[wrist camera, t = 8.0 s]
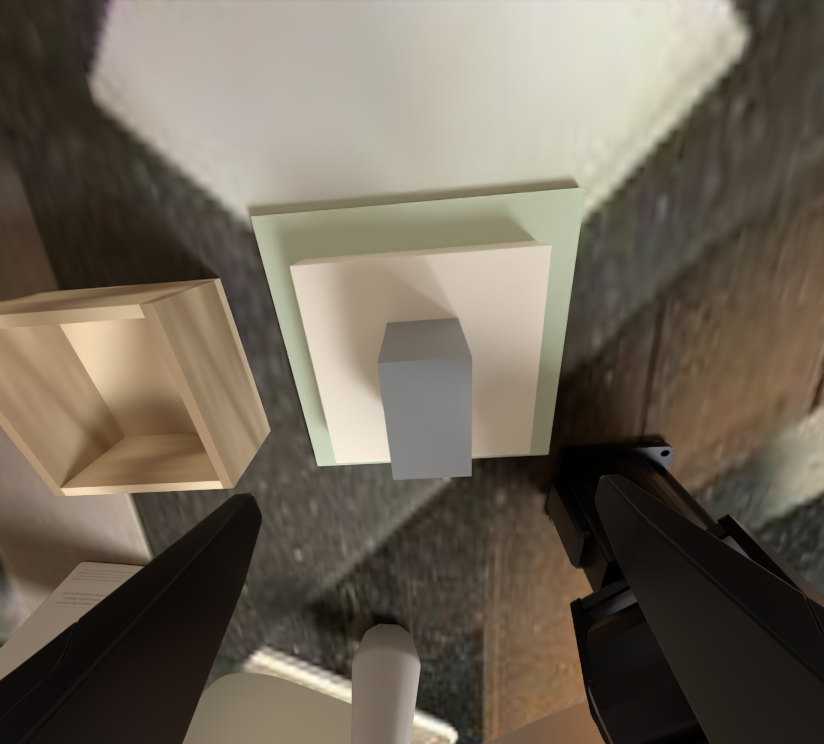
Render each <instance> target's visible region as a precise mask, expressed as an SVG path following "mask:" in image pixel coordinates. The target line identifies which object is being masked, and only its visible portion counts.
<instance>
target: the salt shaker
mask: <svg viewBox="0 0 824 744" xmlns="http://www.w3.org/2000/svg"><path fill="white" fill-rule="evenodd" d="M419 674H420V661H419V657H418V654H417V651H416V648H415V646H414V643H413V640H412V637H411V634H410V633H409V632H407V631H406V630H405V629H404V628H402V627H401V626H400V625H392V624H377V625H376V626H374V627H372V628H371V629H369V630H367V631H366V632H365V634H364V636H363V638H362V641H361V643H360V645H359V647H358V649H357V651H356V653H355V655H354V659H353V663H352V726H351V727H352V728H351V731H352V732H351V744H410V740H411V733H412V725H413V718H414V711H415V703H416V696H417V689H418V681H419Z"/></svg>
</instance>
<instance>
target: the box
mask: <svg viewBox="0 0 824 744" xmlns="http://www.w3.org/2000/svg"><path fill="white" fill-rule="evenodd" d="M0 425H1V427H2V428H3V429H4V431H5V432H6V433H7V434H8V436H9V437H10V438H11V439H12V441H13V442H14V443H15V445H16V446H17V447H18V448H19V450H20V451H21V452H22V453H23V455H24V456H25V457H26V459H27V460H28V461H29V462H30V464H31V465H32V466H33V468H34V469H35V470H36V471H37V473H38V474H39V475H40V476H41V478H42V479H43V480H44V482H45V483H46V484H47V485H48V487H49V488H50V489H51V490H52V492H53V493H54V494H55V496H75V495H96V494H117V493H138V492H160V491H181V490H202V489H223V488H234V487H235V485H236V483H237V482H238V480H239V479H240V477H241V476H242V474H243V473H244V471H245V470H246V468H247V467H248V465H249V463H250V462H251V460H252V459H253V457H254V456H255V454H256V453H257V451H258V450H259V448H260V446H261V445H262V443H263V442H264V440H265V439H266V437H267V436H268V434H269V433H270V431H271V430H270V427H269V424H268V421H267V418H266V415H265V412H264V409H263V406H262V403H261V400H260V397H259V394H258V391H257V388H256V385H255V382H254V379H253V376H252V373H251V370H250V367H249V364H248V361H247V358H246V355H245V352H244V349H243V346H242V343H241V340H240V337H239V334H238V331H237V328H236V325H235V322H234V319H233V316H232V313H231V310H230V307H229V304H228V301H227V298H226V295H225V292H224V289H223V286H222V283H221V280H220V278H216V279H204V280H191V281H178V282H166V283H153V284H140V285H128V286H115V287H102V288H89V289H77V290H64V291H51V292H41V293H37V294H33V295H28V296H24V297H20V298H15V299H11V300H7V301H3V302H0Z"/></svg>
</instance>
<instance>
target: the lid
mask: <svg viewBox="0 0 824 744" xmlns="http://www.w3.org/2000/svg"><path fill="white" fill-rule="evenodd" d="M551 250H552V245H550V244H546V243H543V242H540V241H537V240H530V241H518V242H506V243H493V244H481V245H469V246H456V247H444V248H432V249H419V250H407V251H395V252H383V253H370V254H358V255H346V256H333V257H321V258H309V259H303V260H301V261H299V262H297V263H295V264H293V265H291V266H290V270H291V275H292V279H293V283H294V287H295V291H296V296H297V300H298V304H299V308H300V312H301V317H302V321H303V325H304V329H305V334H306V338H307V342H308V346H309V350H310V355H311V359H312V363H313V367H314V371H315V376H316V380H317V384H318V388H319V392H320V397H321V401H322V405H323V409H324V414H325V418H326V422H327V426H328V430H329V435H330V439H331V443H332V447H333V451H334V456H335V460H336V463H355V462H375V461H391V466H392V474H393V480H401V479H422V478H443V477H464V476H472V457H474V456H494V455H513V454H530V447H531V437H532V428H533V419H534V409H535V400H536V391H537V381H538V372H539V362H540V353H541V344H542V334H543V325H544V315H545V306H546V297H547V287H548V278H549V268H550V259H551Z"/></svg>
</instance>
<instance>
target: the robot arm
mask: <svg viewBox="0 0 824 744" xmlns="http://www.w3.org/2000/svg"><path fill="white" fill-rule="evenodd" d="M673 454H674V449H673V448H672V447H671V446H670V445H669V444H668V443H666V442H656V443H637V444H617V445H597V446H577V447H566V448H563V449H562V450H561V451H560V452H559V455H558V462H557V468H556V474H555V478H553V480H552V481H551V487H550V494H549V500H548V507H547V508H548V511H549V519H550V522H551V524H552V525H554V526H555V527H556V529H557V532H558V534H559V536H560V539H561V541H562V543H563V546H564V548H565V550H566V553H567V555H568V557H569V560H570V562H571V564H572V565H573V566H574V567H575V568H576V569H583V570H584V572H585V575H586V577H587V579H588V581H589V583H590V586H591V588H592V590H593V593H591V594H589V595H588V596H586V597H584V598H582V599H580V598H578V599H576V600H574V601H573V602H571V603H570V607H571V612H572V618H573V624H574V629H575V635H576V640H577V646H578V652H579V657H580V663H581V669H582V674H583V680H584V686H585V691H586V695H587V699H588V703H589V708H590V713H591V716H592V718H593V720H594V722H595V723H596V725H597V727H598V729H599V732H600V734H601V736H602V738H603V740H604V742H605V743H606V744H824V597H823V596H822V595H821V594H820V593H819V592H818V591H817V590H816V589H815V588H814V587H813V586H812V585H811V584H809V583H808V582H807V581H806V580H805V579H804V578H803V577H802V576H801V575H800V574H799V573H798V572H797V571H796V570H795V569H794V568H793V567H791V566H790V565H789V564H788V563H787V562H786V561H785V560H784V559H783V558H782V557H781V556H780V555H778V554H777V553H776V552H775V551H774V550H772V549H771V548H770V547H769V546H767V545H766V544H765V543H764V542H763V541H761V540H760V539H759V538H758V537H757V536H755V535H754V534H753V533H752V532H750V531H749V530H748V529H747V528H746V527H744V526H743V525H742V524H741V523H739V522H738V521H737V520H736V519H735V518H733V517H732V516H731V515H730V514H727V515H725V516H723V517H722V518H720V519H718V520H717V521H718V523H716V522H715V521H714V520H713V518H712V517H711V516H710V515H709V514H708V513H707V512H706V511H705V510H704V509H703V508H702V507H701V506H700V505H699V504H698V502H697V501H696V500H695V499H694V498H693V497H692V496H691V495H690V494H689V493H688V492H687V491H686V490H685V489H684V488H683V487H682V485H681V484H680V483H679V482H678V481H677V480H676V479H675V478H674V477H673V476H672V475H671V474H670V473H669V472H668V468H669V465H670V462H671V460H672V457H673ZM568 455H570V456H568ZM566 456H568V457H566ZM261 522H262V514H261V511H260V509H259V506H258V504H257V502H256V499H255V497H254V495H253V494H252V493H237V494H235V495H233V496H232V497H231V498H229V499H228V500H227V501H226V502H224V503H223V504H222V505H221V506H219V507H218V508H217V509H216V510H214V511H213V512H212V513H211V514H209V515H208V516H207V517H206V518H204V519H203V520H202V521H201V522H199V523H198V524H197V525H195V526H194V527H193V528H192V529H190V530H189V531H188V532H187V533H185V534H184V535H183V536H182V537H180V538H179V539H178V540H177V541H175V542H174V543H173V544H172V545H170V546H169V547H168V548H167V549H165V550H164V551H163V552H162V553H160V554H159V555H158V556H157V557H155V558H154V559H153V560H152V561H150V562H149V563H148V564H147V565H145V566H144V567H143V568H142V569H140V570H139V571H138V572H137V573H135V574H134V575H133V576H132V577H130V578H129V579H128V580H127V581H125V582H124V583H123V584H122V585H120V586H119V587H118V588H117V589H115V590H114V591H113V592H112V593H110V594H109V595H108V596H107V597H105V598H104V599H103V600H102V601H100V602H99V603H98V604H97V605H95V606H94V607H93V608H92V609H90V610H89V611H88V612H87V613H85V614H84V615H83V616H82V617H80V618H79V620H78V622H74V623H73V624H71V625H70V626H69V627H68V628H66V629H65V630H64V631H63V632H61V633H60V634H59V635H58V636H56V637H55V638H54V639H53V640H51V641H50V642H49V643H48V644H46V645H45V646H44V647H42V648H41V649H40V650H39V651H37V652H36V653H35V654H33V655H32V656H31V657H30V658H28V659H27V660H26V661H25V662H23V663H22V664H21V665H19V666H18V667H17V668H16V669H14V670H13V671H12V672H10V673H9V674H8V675H6V676H5V677H3V678H2V679H1V680H0V744H182V743H183V741H184V738H185V736H186V733H187V730H188V728H189V725H190V722H191V720H192V717H193V715H194V712H195V710H196V707H197V705H198V702H199V699H200V697H201V694H202V692H203V689H204V686H205V684H206V681H207V679H208V676H209V674H210V671H211V668H212V666H213V663H214V661H215V658H216V655H217V653H218V650H219V648H220V645H221V643H222V640H223V637H224V635H225V632H226V630H227V627H228V624H229V622H230V619H231V617H232V614H233V611H234V609H235V606H236V604H237V601H238V599H239V596H240V593H241V591H242V588H243V585H244V582H245V579H246V576H247V572H248V569H249V565H250V562H251V558H252V555H253V551H254V547H255V544H256V540H257V537H258V533H259V530H260V526H261Z"/></svg>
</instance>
